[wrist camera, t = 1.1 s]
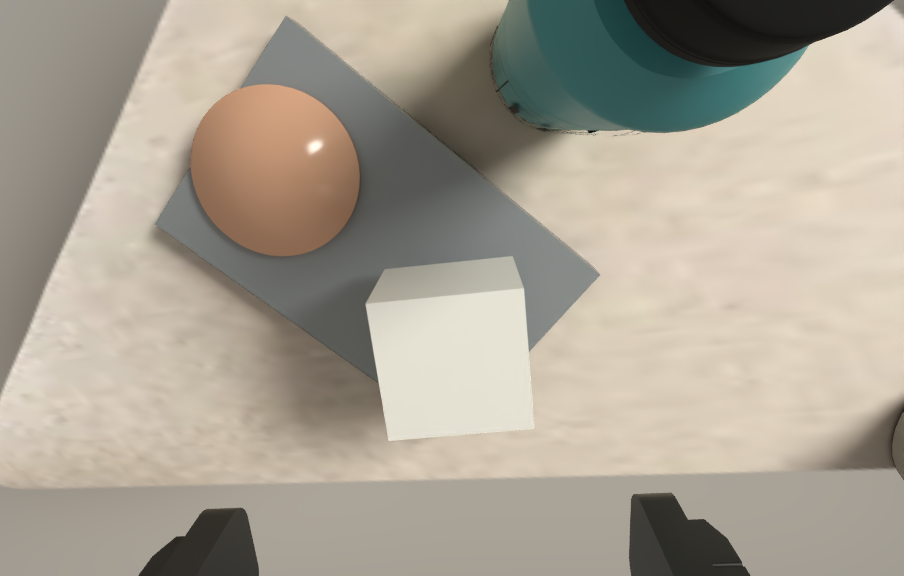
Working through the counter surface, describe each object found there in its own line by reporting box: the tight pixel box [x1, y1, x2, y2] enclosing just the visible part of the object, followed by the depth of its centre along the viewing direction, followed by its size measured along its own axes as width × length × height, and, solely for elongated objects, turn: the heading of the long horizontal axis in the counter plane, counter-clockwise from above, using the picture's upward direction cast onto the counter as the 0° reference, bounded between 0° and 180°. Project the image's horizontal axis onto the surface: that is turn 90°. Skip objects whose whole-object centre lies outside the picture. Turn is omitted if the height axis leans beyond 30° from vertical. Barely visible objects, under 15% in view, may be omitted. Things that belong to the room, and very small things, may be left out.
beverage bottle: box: [489, 0, 894, 136], centre depth 16 cm, size 6×7×20 cm
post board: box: [155, 16, 600, 383], centre depth 25 cm, size 19×12×8 cm, turn 51°
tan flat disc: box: [191, 84, 361, 256], centre depth 26 cm, size 8×8×1 cm
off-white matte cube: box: [366, 256, 535, 441], centre depth 23 cm, size 6×6×5 cm
